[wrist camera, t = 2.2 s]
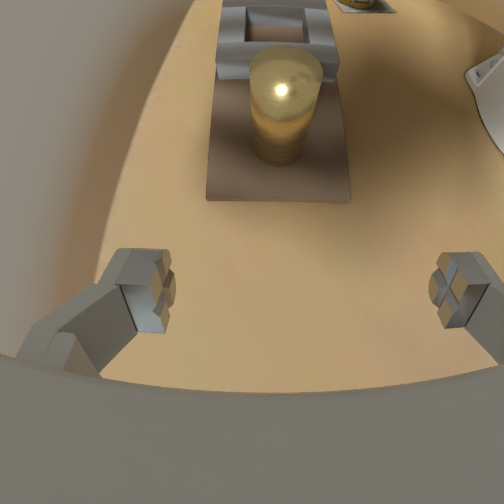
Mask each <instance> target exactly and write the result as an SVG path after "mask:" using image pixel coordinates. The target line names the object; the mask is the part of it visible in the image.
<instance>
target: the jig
mask: <svg viewBox="0 0 504 504" xmlns="http://www.w3.org/2000/svg"><path fill="white" fill-rule="evenodd" d="M277 45H289V46H294V47H298V48H301V49H303V50H306V51H307V52H309V53H311V54H312V55H313V56H314V57H315V58H316V59H317V60H318V61H319V63H320V64H321V66H322V69H323V78H322V82H321V85H320V89H319V93H318V97H317V101H316V104H315V108H314V112H313V116H312V119H311V123H310V127H309V131H308V134H307V138H306V142H305V145H304V149H303V152H302V154H301V156H300V157H299V158H298V159H297V160H296V161H295V162H293V163H291V164H289V165H285V166H274V165H270V164H267V163H265V162H264V161H262V160H261V159H260V158H259V157H258V156H257V154H256V153H255V151H254V147H253V134H252V115H251V96H250V77H249V65H250V62H251V60H252V58H253V57H254V56H255V55H256V54H257V53H258V52H260V51H261V50H263V49H265V48H268V47H271V46H277ZM215 61H216V74H215V84H214V95H213V105H212V117H211V129H210V141H209V155H208V169H207V185H206V199H207V201H295V202H330V203H348V202H349V201H350V200H351V196H350V183H349V172H348V161H347V151H346V142H345V134H344V125H343V118H342V110H341V103H340V97H339V90H338V84H337V78H336V73H337V70H338V66H339V59H338V54H337V50H336V45H335V40H334V35H333V31H332V27H331V22H330V18H329V14H328V10H327V6H326V2H325V0H223V4H222V12H221V19H220V26H219V34H218V42H217V50H216V59H215Z"/></svg>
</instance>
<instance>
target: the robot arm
mask: <svg viewBox="0 0 504 504" xmlns="http://www.w3.org/2000/svg"><path fill="white" fill-rule="evenodd" d="M465 78H466V80H467V82H468V84H469V85H470V87H471V89H472V91H473V92H474V95H475V98H476V102H477V106H478V110H479V113H480V116H481V118H482V120H483V123H484V125H485V127H486V129H487V131H488V132H489V134H490V136H491V137H492V139H493V141H494V142H495V144H496V145H497V146H498V148H499V149H500V150H501V152H502V153H503V154H504V45H503V46H502V47H501V49H500V50H499V53H498V54H496V55H494V56H493V57H491V58H489V59H487V60H486V61H484V62H482V63H480V64H478V65H477V66H475V67H473V68H471V69H470V70H468V71H467V72H466V73H465ZM171 261H172V260H171V256H170V252H169V251H168V250H167V249H149V248H119V249H117V250H116V252H115V253H114V255H113V257H112V259H111V260H110V262H109V264H108V266H107V267H106V269H105V271H104V273H103V275H102V276H101V278H100V280H99V282H98V284H92V285H90V286H89V287H87V288H86V289H84V290H83V291H81V292H80V293H78V294H77V295H75V296H74V297H72V298H71V299H69V300H68V301H66V302H65V303H64V304H62V305H61V306H59V307H58V308H56V309H55V310H53V311H52V312H51V313H49V314H48V315H46V316H45V317H43V318H42V319H41V320H39V321H38V322H36V323H35V324H34V325H33V326H32V327H31V329H30V331H29V333H28V334H27V337H26V338H25V340H24V342H23V344H22V346H21V348H20V349H19V352H18V353H17V355H16V357H15V358H13V357H9V356H6V355H3V354H0V504H504V283H503V282H502V281H501V279H500V278H499V277H498V275H497V274H496V272H495V271H494V269H493V268H492V267H491V265H490V264H489V263H488V261H487V260H486V258H485V257H484V256H483V254H481V253H480V252H442V253H441V255H440V256H439V258H438V260H437V267H438V269H437V270H436V271H435V272H434V273H433V274H432V275H431V278H430V281H429V290H428V291H429V296H430V299H431V301H432V303H433V304H434V305H436V306H437V307H438V308H439V309H438V312H437V314H438V316H439V318H440V320H441V322H442V325H443V327H444V329H449V328H460V327H465V329H466V330H467V331H468V332H469V333H470V334H471V335H472V336H473V337H474V338H475V339H476V341H477V342H478V343H479V344H480V345H481V346H482V347H483V348H484V349H485V350H486V351H487V352H488V353H489V354H490V355H491V356H492V357H493V358H494V360H495V361H496V362H497V363H498V364H499V365H498V366H494V367H490V368H486V369H482V370H477V371H473V372H469V373H464V374H459V375H454V376H449V377H444V378H438V379H433V380H427V381H421V382H414V383H408V384H400V385H393V386H384V387H375V388H365V389H354V390H341V391H324V392H297V393H249V392H222V391H205V390H191V389H180V388H169V387H160V386H152V385H144V384H136V383H129V382H123V381H116V380H110V379H104V378H102V377H101V376H100V374H99V372H100V371H101V370H102V369H103V368H104V367H105V366H106V365H107V364H108V363H109V362H110V361H111V360H112V359H113V358H114V357H115V356H116V355H117V354H118V353H119V352H120V351H121V350H122V349H123V348H124V347H125V346H126V345H127V344H128V343H129V342H130V341H131V340H132V339H133V338H134V337H135V336H136V335H137V332H143V333H163V334H165V332H166V329H167V325H168V322H169V318H170V314H169V310H168V308H170V307H171V306H172V305H173V304H174V300H175V294H176V281H175V275H174V273H173V272H172V271H171V270H170V269H169V267H170V264H171Z"/></svg>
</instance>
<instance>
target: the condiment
mask: <svg viewBox="0 0 504 504" xmlns="http://www.w3.org/2000/svg"><path fill="white" fill-rule="evenodd" d="M333 1H334V2H335V3H336V4H337V5H338V6H339V7H340V9H341V10H342V11H343V13H345V12H349V13H350V12H352V13H357V12H360V13H365V12H367V13H369V12H383V13H389V12H393V13H396V12H395V10H393V9H392V8H391V7H390V5H389V4H388V3H387V2H386V1H385V0H333Z"/></svg>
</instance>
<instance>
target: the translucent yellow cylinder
mask: <svg viewBox="0 0 504 504" xmlns="http://www.w3.org/2000/svg"><path fill="white" fill-rule="evenodd" d="M249 77H250V96H251V115H252V134H253V147H254V151H255V153H256V154H257V156H258V157H259V158H260V159H261V160H262V161H264V162H265V163H267V164H270V165H274V166H285V165H289V164H291V163H293V162H295V161H296V160H297V159H298V158H299V157H300V156H301V154H302V152H303V149H304V145H305V142H306V138H307V134H308V131H309V127H310V123H311V119H312V116H313V112H314V108H315V104H316V101H317V97H318V93H319V89H320V85H321V82H322V78H323V69H322V66H321V64H320V63H319V61H318V60H317V59H316V58H315V57H314V56H313V55H312V54H311V53H309V52H307V51H306V50H303V49H301V48H298V47H294V46H289V45H277V46H271V47H268V48H265V49H263V50H261V51H260V52H258V53H257V54H256V55H255V56H254V57H253V58H252V60H251V62H250V65H249Z"/></svg>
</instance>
